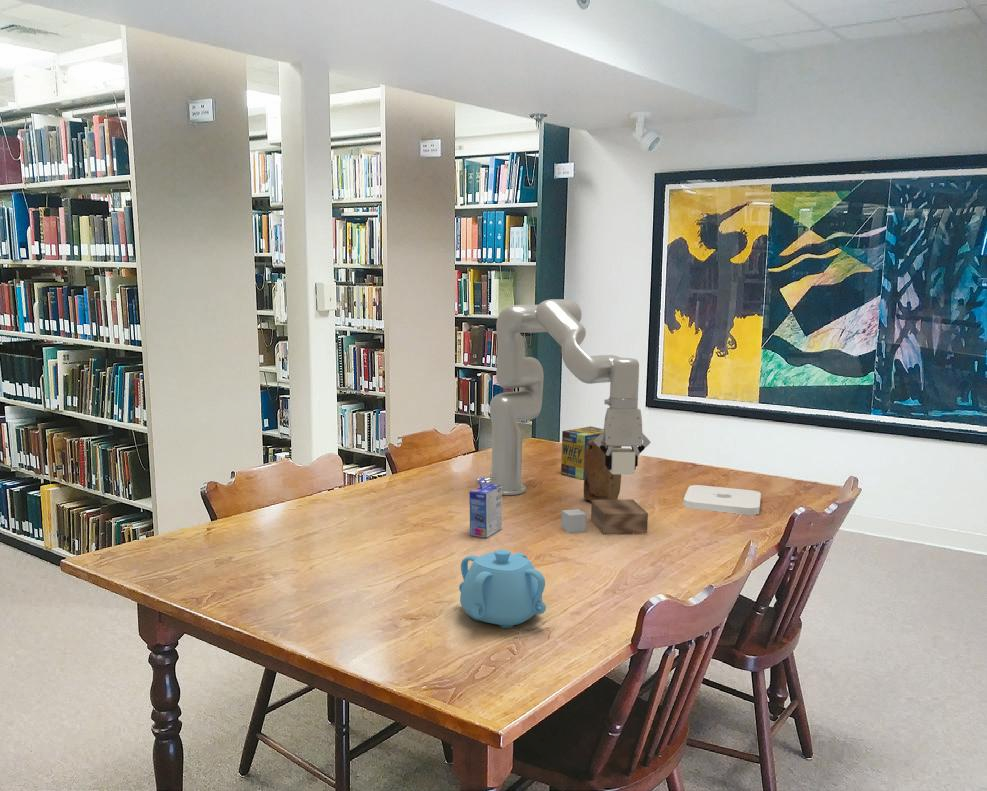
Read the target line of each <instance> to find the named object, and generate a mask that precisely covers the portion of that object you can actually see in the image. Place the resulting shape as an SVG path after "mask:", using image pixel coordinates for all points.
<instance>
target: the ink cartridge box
mask: <svg viewBox="0 0 987 791" xmlns="http://www.w3.org/2000/svg"><path fill="white" fill-rule="evenodd" d="M480 478H481V479H479V480H478V482H479V484H478V485H479V486H478V487H475V488H473V489H472V490H469V534H470V536H473V537H476V538H482V539H483V538H484V539H487V538H489V537H491V536H492V535H494V534H495V533H496V532H498V531H500V530H501V529H502V528H503V524H502V522H503V516H502V514H503V513H502V511H503V508H502V507H503V501H502V500H503V498H502V497H503V495H502V485H496V484H490V483H487V482H486V480H485V478H486V477H484V476H483V477H480ZM482 481H485V483H484V484H481V482H482Z"/></svg>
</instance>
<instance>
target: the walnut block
mask: <svg viewBox="0 0 987 791" xmlns="http://www.w3.org/2000/svg"><path fill="white" fill-rule="evenodd" d="M648 518H649V513H648V511H646V510H645V509H644V508H643V507H642V506H641V505H640V504H639V503H637V502H636V501H635V500H634V499H632V498H631V499H617V500H592V502H591V508H590V520H591V522H592V523H593V522H594V523H595V524H594V523H593V524H594V525H595V526H596V527H598V528H599V529H598V528H597V529H598V531H600V532H601V534H602V535H604V534H605V535H606V534H617V535H642V534H641V533H647V534H648V524H649V522H648ZM633 533H634V534H633ZM606 536H607V535H606Z"/></svg>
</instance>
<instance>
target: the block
mask: <svg viewBox="0 0 987 791" xmlns="http://www.w3.org/2000/svg"><path fill="white" fill-rule="evenodd" d="M597 437H598V436H597ZM597 437H594V438H592V439H591V440H590V441H589V442H588V444H587V446H586V450H585V458H584V474H585V478H584V480H583V498H584V500H586V501H589V502H591V503H592V500H619V495H620V493H621V492H620V491H621V486H622V484H621V483H622V474H612V473H611V472H610V471H609V470H608V469H607V466H605V453H604V452H603V451H602V450H601V449H600V448H599V447H598V446H597V445H596V444H595V443H594V440H595V439H596V438H597ZM601 444H602V445H603V446H604V447H605V448H606V445H607V444H606V443H605V442H604V441H603V440H602V441H601ZM613 448H623V446H614V447H613Z"/></svg>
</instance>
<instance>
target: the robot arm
mask: <svg viewBox="0 0 987 791" xmlns="http://www.w3.org/2000/svg"><path fill="white" fill-rule="evenodd" d="M581 320H582V309H581V307H580V305H579V304H578V303H577V302H576V301H574V300H572V299H568V298H567V299H564V298H562V299H561V298H560V299H557V298H556V299H555V298H554V299H553V298H551V299H546V300H543V301H542V302H540V303H538V304H513V305H510V306H507V307H504V308H503V309H502V310H501V311H500V312H499V314H498V316H497V319H496V326H495V327H496V336H497V351H496V352H497V354H496V370H495V371H496V372H495V374H496V376H495V377H496V382H497V384H498V386H499V387H501V388H503V389H519V391H506V392H501V393H498V394H496V395H494V396H493V397H492V398H491V400H490V403H489V415H490V420H491V421H490V422H491V431H492V432H491V433H492V436H491V440H492V441H491V474H490V475H489V476H486V477H484V478H485V480H486V482H487V483H490V484H496V485H502V496H514V495H515V496H517V495H521V494H524V493H525V492H527V490H526V489H527V487H526V486H525V485H523V484H522V462H523V461H522V460H523V459H522V458H523V457H522V456H523V434H522V431H521V429H520V427H519V425H518V422H524V421H530V420H534V419H536V418H537V417H539V415H540V413H541V411H542V405H543V391H544V378H545V377H544V368H543V366H542V364H541V363H540V361H539V360H538V359H537V358H535V357H533V356H532V357H531V356H525V353H526V352H525V350H526V345H525V340H524V338H523V336H522V333H525V334H526V333H548V334H549V335H550V336H551V337H552V338H553V339H554V341H555V342H557V344H558V345H559V346H560V347H561V358H562V361H563V363H564V365H565V367H566V368H567V369H568V370H569V371H570V373H571V374H572V375H573V376H574V377H575V378H576V379H577V380H579V381H580V382H582V383H584V384H588V385H589V384H591V385H592V384H601V383H603V384H604V383H609V385H610V386H609V397H608V398H607V399H604V400H603V402H604V404H603V405H607V406H609V407H607V408H606V410H605V411H606V412H605V416H604V422H603V423H604V424H603V429H604V430H603V432H602V433H601V434H600V435H599V436H598V437H597V438H596V439H595V440H594V443H595V444H596V445H597V446H598V447H599V448H600V449H601V450H602V451H603V452H604V453H605V466H607V469H608V470H611V467H612V456H611V451H612V449H613V447H614V446H621V447H630V448H631V449H632V450H633V451H634V452H635V471H636V468H637V467H638V465H639V456H640V454H641V453H642V452H643V451H644V450H645V448H647V447H648V446H649V445H650V444H651V441H650V439H649V438H648V437H647V436H646V435H645V434H644V432H643V420H642V417H643V416H642V411H641V409H640V408H638V405H639V402H638V401H639V383H640V382H639V381H640V379H639V378H640V363H639V361H638V359H636V358H633V357H631V358H630V357H621V356H617V355H613V354H606V355H605V354H604V355H603V354H601V355H589V354H587V352H586V351H585V350H583V349H582V348H581V346H580V345H581V344H582V343H583V341H584V340H585V338H586V335H587V331H586V328H585V327H584V325H583V324H581V323H580V322H581ZM602 440H603V441H604V442H605V443H606V444H607V445H606V448H605V447H604V446H603V445H602V444H601V441H602ZM481 478H482V477H477V478H476V485H477V484H478V485H480V484H479V482H478V480H479V479H481ZM484 483H485V481H482V482H481V484H484Z"/></svg>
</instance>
